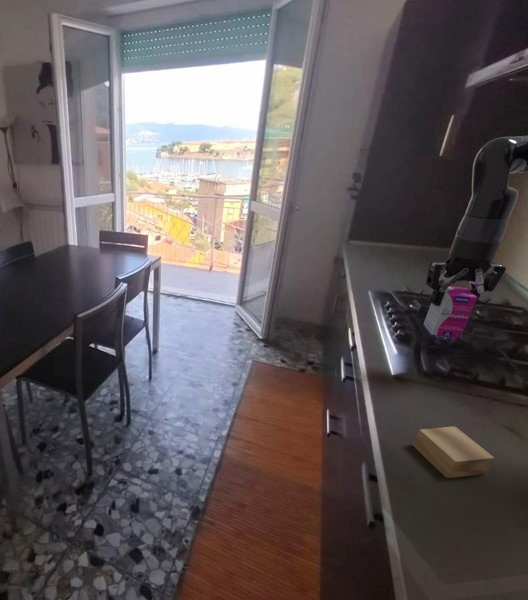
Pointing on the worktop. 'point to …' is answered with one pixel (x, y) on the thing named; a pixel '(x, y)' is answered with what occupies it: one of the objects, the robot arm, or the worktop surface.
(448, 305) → the supplement box
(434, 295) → the robot arm
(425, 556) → the worktop surface
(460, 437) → the maple block
